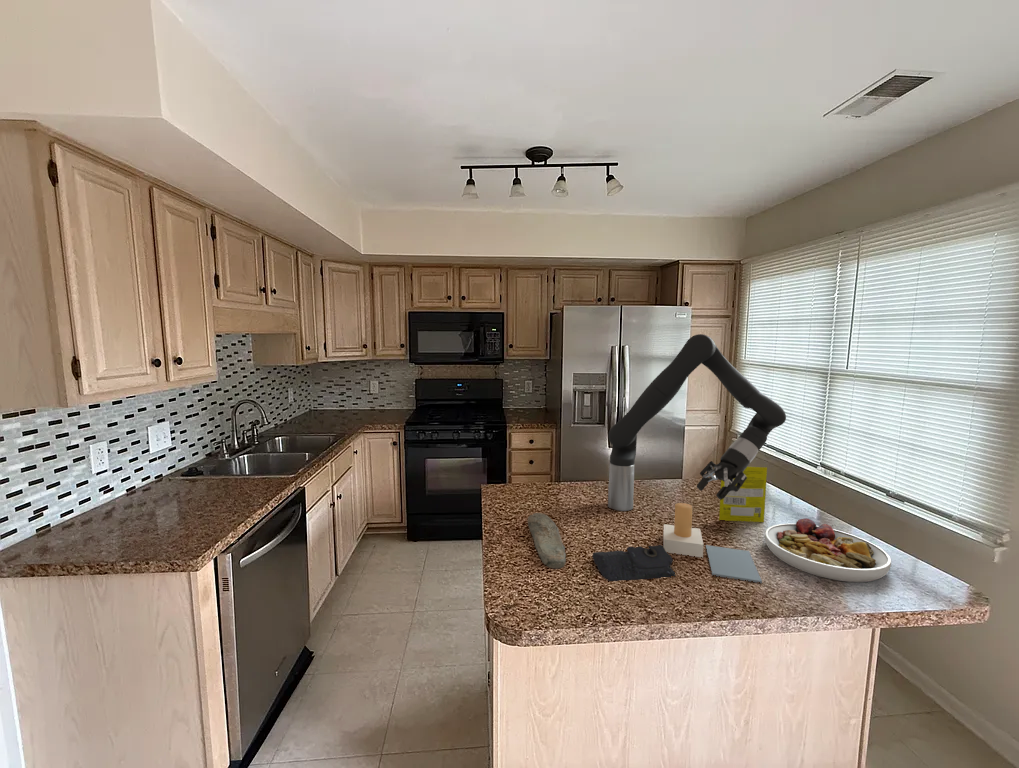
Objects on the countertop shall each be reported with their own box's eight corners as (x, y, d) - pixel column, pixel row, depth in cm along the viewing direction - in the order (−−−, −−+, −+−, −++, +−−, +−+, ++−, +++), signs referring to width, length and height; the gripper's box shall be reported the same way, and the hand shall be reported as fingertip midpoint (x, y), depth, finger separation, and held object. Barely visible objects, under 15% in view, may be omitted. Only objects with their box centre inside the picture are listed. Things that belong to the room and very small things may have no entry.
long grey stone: (537, 575, 123) (572, 575, 124) (539, 557, 123) (574, 558, 123) (523, 519, 158) (550, 519, 159) (524, 505, 157) (551, 505, 158)
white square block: (663, 551, 134) (664, 539, 134) (663, 535, 145) (663, 524, 145) (702, 557, 130) (703, 544, 130) (699, 540, 142) (700, 528, 141)
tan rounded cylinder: (674, 536, 136) (675, 507, 135) (673, 529, 141) (674, 502, 140) (691, 538, 134) (693, 509, 134) (690, 531, 139) (691, 504, 138)
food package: (763, 521, 157) (766, 467, 156) (764, 523, 156) (767, 467, 154) (718, 519, 159) (721, 465, 157) (719, 521, 158) (722, 466, 156)
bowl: (918, 593, 113) (920, 564, 112) (789, 581, 118) (791, 553, 117) (850, 542, 142) (852, 518, 141) (749, 534, 147) (751, 511, 147)
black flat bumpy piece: (586, 556, 132) (587, 541, 131) (655, 552, 135) (656, 537, 134) (605, 584, 117) (605, 567, 116) (682, 578, 120) (683, 561, 119)
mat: (712, 575, 121) (712, 573, 120) (705, 546, 138) (705, 545, 137) (761, 583, 117) (761, 581, 117) (748, 552, 134) (749, 551, 134)
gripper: (716, 442, 147) (686, 479, 145) (751, 452, 134) (718, 493, 131) (728, 457, 149) (699, 493, 147) (764, 468, 136) (732, 508, 133)
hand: (708, 493), depth 139 cm, fingers open, 8 cm apart
